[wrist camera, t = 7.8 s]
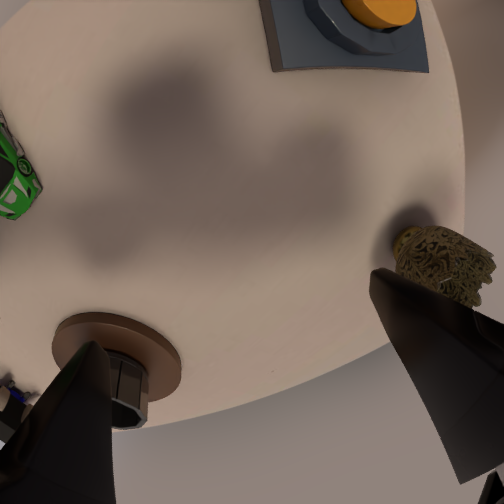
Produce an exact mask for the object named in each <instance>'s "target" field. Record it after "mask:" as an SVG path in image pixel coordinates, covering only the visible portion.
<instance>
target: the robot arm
mask: <svg viewBox="0 0 504 504" xmlns="http://www.w3.org/2000/svg"><path fill="white" fill-rule="evenodd" d="M369 294H370V298H371V300H372V302H373V304H374V306H375V308H376V311H377V313H378V315H379V317H380V320H381V322H382V324H383V326H384V329H385V331H386V333H387V335H388V337H389V339H390V341H391V343H392V345H393V346H394V348H395V350H396V352H397V353H398V355H399V357H400V359H401V361H402V363H403V364H404V366H405V368H406V370H407V372H408V374H409V375H410V377H411V379H412V381H413V383H414V385H415V387H416V389H417V391H418V393H419V395H420V397H421V398H422V401H423V402H424V404H425V407H426V408H427V411H428V413H429V415H430V417H431V419H432V421H433V423H434V425H435V427H436V430H437V432H438V434H439V436H440V437H441V438H440V439H441V440H442V443H443V445H444V448H445V449H446V452H447V455H448V457H449V459H450V462H451V464H452V466H453V469H454V471H455V474H456V476H457V479H458V481H459V483H460V484H463V483H465V482H467V481H470V480H472V479H474V478H476V477H478V476H480V475H482V474H484V473H486V472H488V471H490V470H492V469H494V468H496V469H495V470H494V471H493V472H491V473H490V474H489V475H488V477H487V480H486V483H485V485H484V488H483V491H482V494H481V496H480V499H479V502H478V504H504V324H502V323H500V322H498V321H496V320H494V319H491V318H490V317H487V316H485V315H483V314H481V313H479V312H477V311H474V310H473V309H471V308H469V307H467V306H465V305H463V304H461V303H459V302H457V301H455V300H453V299H451V298H449V297H446V296H444V295H442V294H440V293H438V292H436V291H434V290H432V289H430V288H427V287H425V286H423V285H421V284H419V283H417V282H415V281H412V280H410V279H408V278H406V277H404V276H401V275H399V274H397V273H395V272H393V271H390V270H388V269H386V268H379V269H376V270H373V271H372V272H371V274H370V286H369ZM112 461H113V460H112V394H111V376H110V359H109V356H108V354H107V353H106V352H105V351H104V349H103V348H102V347H101V346H100V344H99V343H98V342H97V341H95V340H90V341H85V342H84V343H83V344H82V345H81V346H80V348H79V349H78V350H77V351H76V352H75V354H74V355H73V356H72V357H71V359H70V360H69V361H68V362H67V363H66V365H65V366H64V367H63V368H62V370H61V371H60V372H59V373H58V375H57V376H56V377H55V379H54V380H53V381H52V382H51V384H50V385H49V386H48V388H47V389H46V390H45V392H44V393H43V394H42V395H41V397H40V398H39V399H38V401H37V402H36V404H35V405H34V406H33V408H32V409H31V410H30V412H29V414H27V416H26V417H25V419H24V420H23V421H22V423H21V424H20V426H19V427H18V428H17V430H16V431H15V432H14V434H13V435H12V436H11V437H10V439H9V440H8V441H7V442H6V444H5V445H4V446H3V448H2V449H1V450H0V504H116V497H115V488H114V475H113V462H112Z"/></svg>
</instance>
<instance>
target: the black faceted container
mask: <svg viewBox="0 0 504 504" xmlns="http://www.w3.org/2000/svg"><path fill="white" fill-rule="evenodd" d="M105 352H106V353H107V354H108V356H109V359H110V376H111V394H112V428H114V429H120V430H122V429H123V430H127V429H136V428H140V427H142V426H143V425H144V424H145V423H146V421H147V415H148V393H149V383H148V375H147V373H146V371H145V369H144V368H143V367H142V366H141V365H140V364H138V363H137V362H136V361H134V360H132V359H130V358H128V357H126V356H124V355H121V354H118V353H114V352H109V351H105Z"/></svg>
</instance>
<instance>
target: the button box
mask: <svg viewBox="0 0 504 504" xmlns="http://www.w3.org/2000/svg"><path fill="white" fill-rule="evenodd" d="M415 1H416V14H415V17H414V18H413V20H412V21H411V22H410V23H408V24H406V25H401V26H395V27H390V28H385V29H375V28H371V27H368V26H366V25H364V24H362V23H360V22H359V21H358V20H356V19H355V18H354V17H353V16H352V15H351V14H350V13H349V12H348V11H347V9H346V8H345V6H344V5H343V3H342V0H259V3H260V7H261V12H262V17H263V22H264V27H265V32H266V37H267V42H268V47H269V53H270V58H271V64H272V69H273V72H279V71H290V70H305V69H329V68H356V69H380V70H394V71H404V72H419V73H429V67H428V58H427V51H426V44H425V38H424V32H423V27H422V20H421V15H420V11H419V7H418V2H417V0H415Z"/></svg>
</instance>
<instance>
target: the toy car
mask: <svg viewBox="0 0 504 504" xmlns="http://www.w3.org/2000/svg"><path fill="white" fill-rule="evenodd" d="M6 127H7V125H6V123H5V120H4V118H3V115H2V113H1V110H0V215H1V216H3V217H6V218H7V219H11V220H16V219H17V218H18V217H20V216H21V214H23V213H25V212H26V211H27V210H28V208H29V207H31V206H30V205H31V203H32V201H33V199H34V198H37V196H38V195H39V193H40V192H41V190H42V189H41V187H40V185H39V183H38V181H37V178H36V176H35V174H34V172H33V173H32V174H31V171H32V169H31V166H30V164H29V162H28V161H27V160H25V159H22V157H23V155H24V152H23V150H22V149H21V147H20V145H19V144H18V142H17V141H16V140H15V139H14V138H13V137H12V138H13V140H14V142H15V143H14V142H13V140H12V138H11V136H10V134H9V133H8V131H7V129H6ZM30 174H31V175H30ZM29 175H30V176H29ZM28 176H29V177H28Z"/></svg>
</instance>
